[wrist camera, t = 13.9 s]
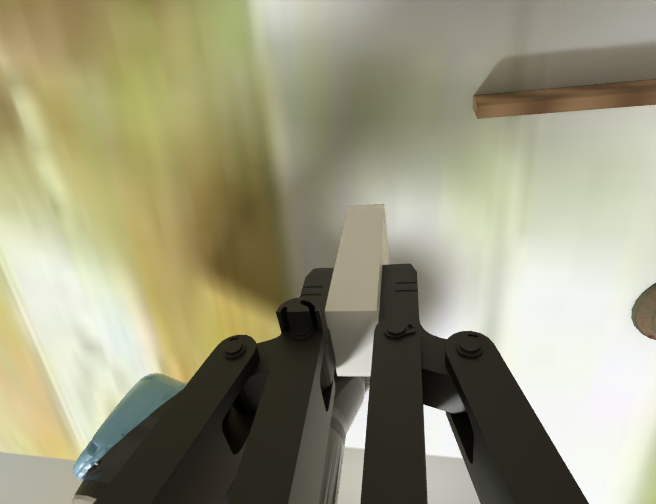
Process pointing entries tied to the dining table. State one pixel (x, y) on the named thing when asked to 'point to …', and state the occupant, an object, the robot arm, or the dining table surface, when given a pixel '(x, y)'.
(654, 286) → the candlestick holder
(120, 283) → the dining table surface
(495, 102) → the corral
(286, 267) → the dining table surface
